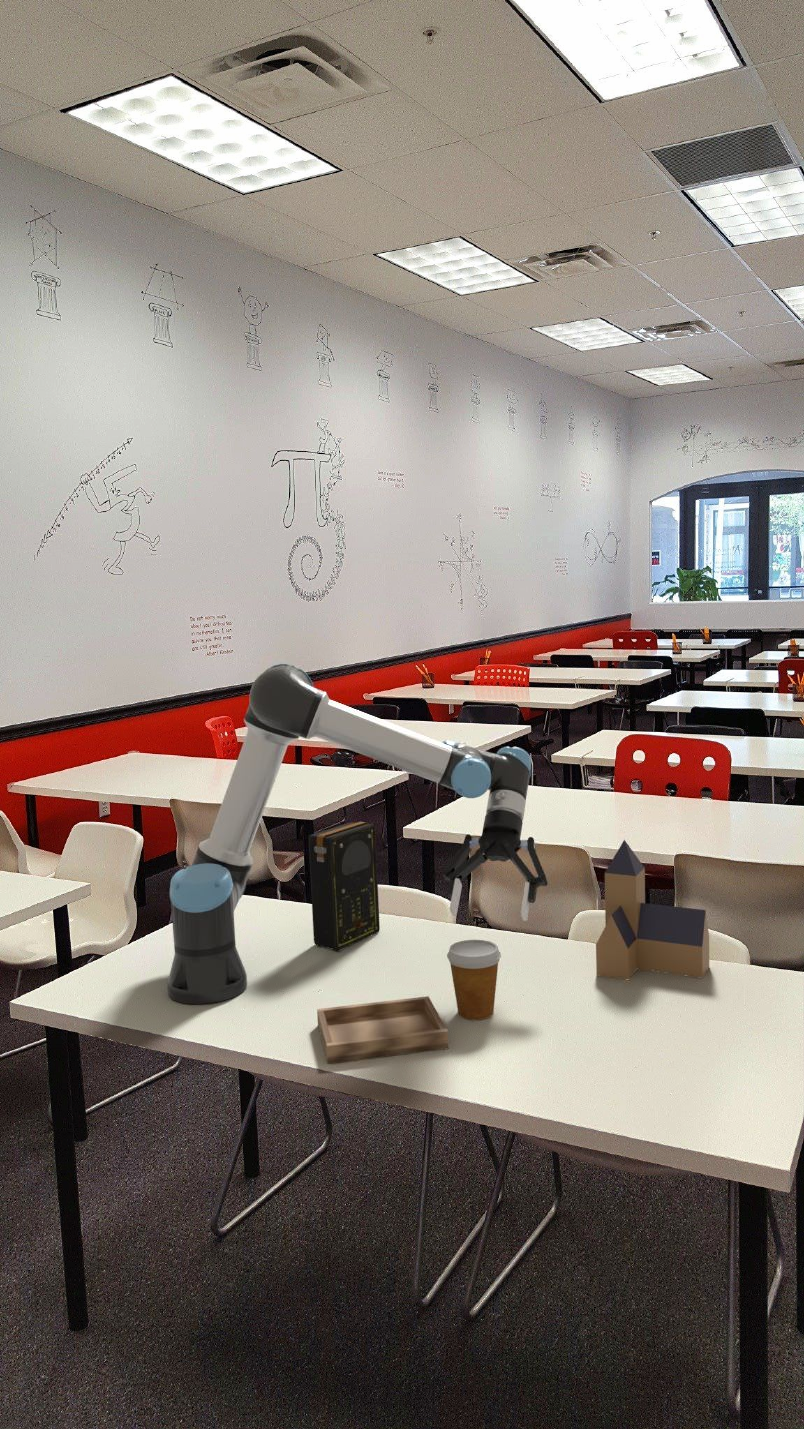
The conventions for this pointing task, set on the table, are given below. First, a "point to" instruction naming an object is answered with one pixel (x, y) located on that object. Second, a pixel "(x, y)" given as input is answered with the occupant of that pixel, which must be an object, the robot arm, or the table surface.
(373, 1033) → the trough tray
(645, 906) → the model church
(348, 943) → the voltmeter
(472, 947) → the disposable coffee cup
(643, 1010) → the table surface
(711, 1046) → the table surface
